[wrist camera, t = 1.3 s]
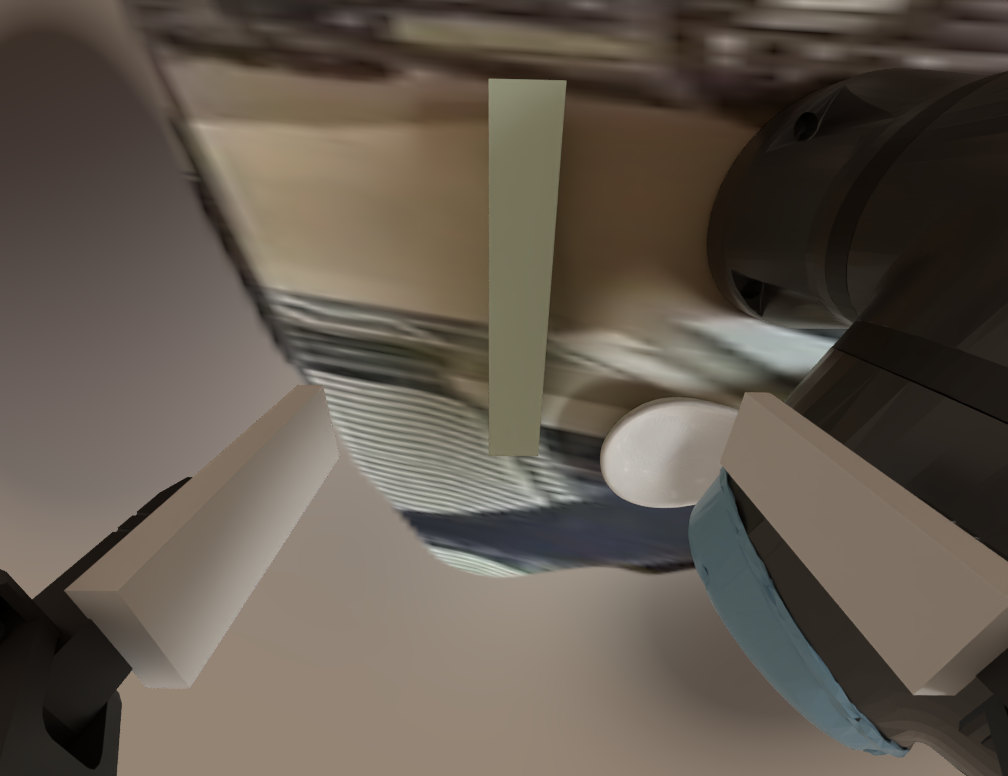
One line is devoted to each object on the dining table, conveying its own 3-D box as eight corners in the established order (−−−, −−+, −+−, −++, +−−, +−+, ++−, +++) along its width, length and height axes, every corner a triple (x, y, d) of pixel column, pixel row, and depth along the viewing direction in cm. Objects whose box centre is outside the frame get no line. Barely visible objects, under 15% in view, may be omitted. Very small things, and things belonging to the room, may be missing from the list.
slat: (554, 104, 23) (566, 80, 19) (533, 423, 34) (538, 456, 29) (491, 103, 23) (488, 78, 18) (491, 422, 34) (489, 455, 29)
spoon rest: (604, 493, 38) (624, 551, 31) (581, 399, 33) (599, 446, 26) (849, 437, 34) (928, 490, 28) (866, 323, 29) (967, 356, 23)
